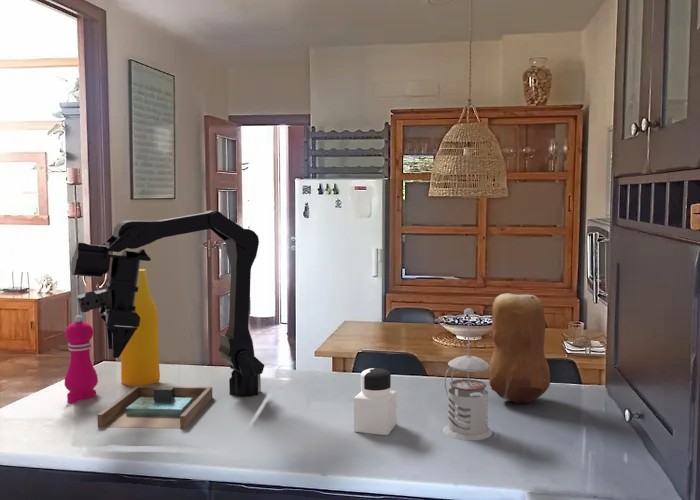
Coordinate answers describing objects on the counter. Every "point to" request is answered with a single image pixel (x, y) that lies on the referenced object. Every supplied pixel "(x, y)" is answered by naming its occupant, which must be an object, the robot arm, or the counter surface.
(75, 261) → the robot arm
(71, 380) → the pepper mill
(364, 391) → the medicine bottle
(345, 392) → the counter surface
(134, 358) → the yellow bottle
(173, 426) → the walnut box
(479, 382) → the french press
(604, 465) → the counter surface
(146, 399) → the cover plate
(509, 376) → the butternut squash
